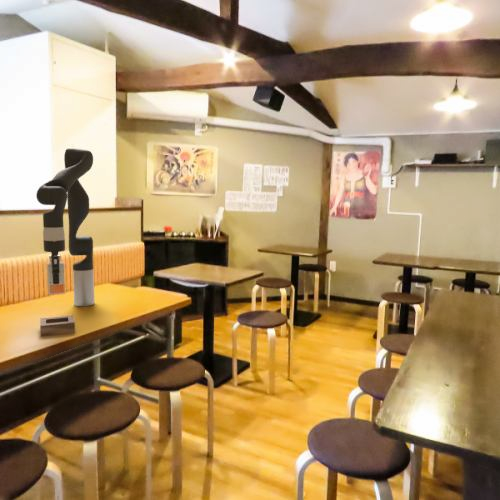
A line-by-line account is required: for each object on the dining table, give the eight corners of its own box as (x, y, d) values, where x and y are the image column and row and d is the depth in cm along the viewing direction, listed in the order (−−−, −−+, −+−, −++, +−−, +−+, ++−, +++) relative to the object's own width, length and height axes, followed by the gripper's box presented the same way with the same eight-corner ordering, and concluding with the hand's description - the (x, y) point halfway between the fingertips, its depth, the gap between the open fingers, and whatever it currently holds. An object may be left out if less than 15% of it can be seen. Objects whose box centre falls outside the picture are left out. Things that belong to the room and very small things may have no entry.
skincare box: (48, 295, 167) (46, 264, 165) (47, 292, 170) (46, 262, 169) (65, 293, 169) (64, 263, 168) (64, 291, 173) (63, 261, 172)
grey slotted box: (40, 328, 174) (40, 318, 174) (73, 324, 179) (72, 315, 179) (40, 336, 164) (40, 326, 164) (74, 332, 169) (74, 322, 169)
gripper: (43, 237, 172) (45, 280, 174) (43, 241, 159) (45, 287, 161) (63, 236, 175) (65, 278, 177) (65, 240, 162) (67, 285, 164)
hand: (56, 282), depth 169 cm, fingers closed on skincare box, 4 cm apart
